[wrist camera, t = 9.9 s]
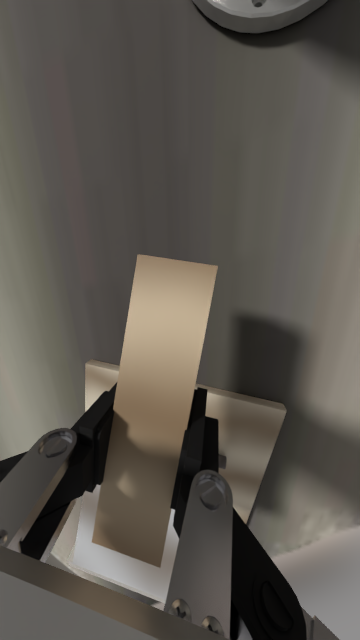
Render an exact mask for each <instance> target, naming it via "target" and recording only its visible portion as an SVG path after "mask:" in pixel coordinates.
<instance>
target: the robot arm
mask: <svg viewBox="0 0 360 640" xmlns="http://www.w3.org/2000/svg"><path fill="white" fill-rule="evenodd" d="M192 1H193V2H194V3H195V4H196V5H197V7H198V8H199V9H200V10H201V11H202V12H203V13H204V14H205V15H206V16H207V17H208V18H210V19H211V20H213V21H214V22H216V23H217V24H219V25H220V26H222V27H225V28H228V29H231V30H234V31H237V32H243V33H262V32H267V31H273V30H278V29H281V28H283V27H285V26H288V25H290V24H292V23H295V22H297V21H299V20H301V19H303V18H304V17H306V16H307V15H309V14H310V13H312V12H313V11H315V10H316V9H318V8H319V7H321V6H322V5H323V4H324V3H326V2H327V1H328V0H192ZM116 387H117V382H116V384H115V385H114V386H113V387H112V388H111V389H110V391H104V392H103V393H102V394H101V395H100V396H99V398H98V399H97V400H96V401H95V402H94V403H93V404H92V405H91V407H90V408H89V409H88V410H87V411H86V412H85V413H84V414H83V416H82V417H81V418H80V419H79V420H78V421H77V422H76V423H75V425H74V426H73V427H72V428H71V429H68V428H60V429H55V430H52V431H50V432H48V433H46V434H45V435H43V436H42V437H41V438H40V439H39V440H38V441H37V442H36V443H35V444H34V445H33V446H32V448H31V449H30V450H29V451H27V452H24V453H22V454H19V455H16V456H13V457H10V458H8V459H5V460H2V461H0V640H339V639H338V638H337V637H336V636H335V635H334V634H333V633H332V632H331V631H330V630H329V629H328V628H327V627H326V626H325V625H324V624H323V623H322V622H321V621H320V620H319V619H318V618H317V617H316V616H314V617H313V618H311V616H310V615H309V614H308V613H307V612H306V611H305V610H304V609H303V608H302V607H301V606H300V604H299V601H298V599H297V596H296V595H295V593H294V591H293V590H292V588H291V586H290V585H289V583H288V582H287V581H286V579H285V578H284V576H283V575H282V574H281V572H280V571H279V570H278V568H277V567H276V565H275V564H274V563H273V561H272V560H271V558H270V557H269V556H268V554H267V553H266V552H265V550H264V549H263V547H262V546H261V545H260V543H259V542H258V540H257V539H256V538H255V536H254V535H253V534H252V532H251V531H250V529H249V528H248V527H247V525H246V524H245V523H244V521H243V520H242V518H241V517H240V516H239V514H238V513H237V512H236V510H235V509H234V507H233V496H232V491H231V488H230V485H229V484H228V482H227V481H226V479H225V478H224V477H223V476H221V475H220V474H219V422H218V419H215V418H211V417H207V416H205V414H206V402H207V390H208V389H204V388H200V387H197V390H196V389H194V394H193V399H192V404H191V410H190V415H189V420H188V425H187V430H185V432H184V437H183V442H182V447H181V452H180V458H179V463H178V468H177V474H176V479H175V484H174V490H173V495H172V500H171V506H170V508H171V509H174V510H175V513H174V519H173V520H174V521H173V527H174V529H175V531H176V533H177V536H178V538H179V542H178V547H177V551H176V556H175V561H174V565H173V570H172V574H171V579H170V584H169V588H168V593H167V597H166V602H165V606H164V611H162V610H159V609H157V608H155V607H152V606H150V605H147V604H145V603H142V602H140V601H137V600H135V599H133V598H130V597H128V596H125V595H123V594H120V593H118V592H116V591H113V590H111V589H108V588H106V587H103V586H101V585H98V584H96V583H93V582H91V581H88V580H86V579H83V578H81V577H78V576H76V575H74V574H71V573H68V572H66V571H64V570H61V569H58V568H56V567H54V566H51V565H49V564H46V563H45V562H46V560H47V558H48V556H49V554H50V552H51V550H52V548H53V546H54V544H55V542H56V540H57V539H58V537H59V535H60V533H61V531H62V529H63V527H64V525H65V523H66V521H67V519H68V517H69V515H70V513H71V511H72V509H73V507H74V505H75V503H76V500H77V498H78V497H80V496H82V495H83V494H84V492H85V491H88V492H90V493H93V491H94V489H95V487H96V485H101V484H102V482H103V478H104V472H105V466H106V459H107V453H108V447H109V441H110V435H111V428H112V422H113V416H114V411H113V406H114V400H115V393H116Z"/></svg>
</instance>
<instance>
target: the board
mask: <svg viewBox="0 0 360 640" xmlns="http://www.w3.org/2000/svg"><path fill="white" fill-rule="evenodd" d="M119 369H120V366H118V365H114V364H109V363H105V362H101V361H96V360H92V359H91V360H90V361H88V362H87V363H86V378H85V412H86V411H87V410H88V409H89V408H90V407H91V405H92V404H93V403H94V402H95V401H96V400H97V399H98V398H99V396H100V395H101V394H102V393H103V392H104V391H110V389H111V388H112V387H113V386H114V385H115V384H116V382H117V381H118V375H119ZM197 387H200V388H204V389H208V390H207V402H206V414H205V416H207V417H211V418H215V419H218V422H219V474H220V475H221V476H223V477H224V478H225V479H226V481H227V482H228V484H229V485H230V488H231V491H232V496H233V507H234V509H235V510H236V512H237V513H238V514H239V516H240V517H241V518H242V520H243V521H244V523H245V524H246V523H247V520H248V517H249V515H250V512H251V509H252V506H253V503H254V501H255V498H256V495H257V492H258V490H259V487H260V484H261V481H262V478H263V476H264V473H265V470H266V467H267V465H268V462H269V459H270V456H271V454H272V451H273V448H274V445H275V442H276V440H277V437H278V434H279V431H280V429H281V426H282V423H283V420H284V417H285V415H286V412H287V411H286V409H285V406H284V404H282V403H277V402H273V401H269V400H265V399H260V398H256V397H252V396H247V395H243V394H239V393H234V392H230V391H226V390H221V389H217V388H213V387H208V386H204V385H200V384H196V383H195V389H196V390H197Z"/></svg>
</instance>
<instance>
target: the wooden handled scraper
mask: <svg viewBox="0 0 360 640" xmlns="http://www.w3.org/2000/svg"><path fill="white" fill-rule="evenodd" d="M217 268H218V266H214V265H207V264H200V263H193V262H187V261H180V260H173V259H166V258H160V257H153V256H146V255H139V254H138V256H137V263H136V269H135V275H134V281H133V288H132V294H131V300H130V306H129V313H128V319H127V325H126V331H125V337H124V344H123V350H122V356H121V362H120V369H119V375H118V381H117V387H116V393H115V400H114V406H113V411H114V416H113V422H112V428H111V435H110V441H109V447H108V453H107V459H106V466H105V472H104V478H103V482H102V484H101V485H96V487H95V489H94V491H93V493H90V492H88V491H85V492H84V494H83V499H82V506H81V512H80V519H79V525H78V532H77V538H76V545H75V551H74V557H73V564H75V565H77V566H80V567H82V568H85V569H87V570H90V571H92V572H95V573H97V574H100V575H103V576H105V577H108V578H110V579H113V580H115V581H118V582H120V583H123V584H125V585H128V586H130V587H133V588H136V589H138V590H141V591H143V592H146V593H148V594H151V595H153V596H156V597H158V598H161V599H163V600H166V597H167V593H168V588H169V584H170V579H171V574H172V570H173V565H174V561H175V556H176V551H177V547H178V542H179V538H178V536H177V533H176V531H175V529H174V527H173V521H174V520H173V519H174V513H175V510H174V509H171V508H170V506H171V500H172V495H173V490H174V484H175V479H176V474H177V468H178V463H179V458H180V452H181V447H182V442H183V437H184V432H185V430H187V425H188V420H189V415H190V410H191V404H192V399H193V394H194V389H195V383H196V378H197V373H198V368H199V362H200V357H201V352H202V347H203V341H204V336H205V331H206V326H207V320H208V315H209V310H210V305H211V299H212V294H213V289H214V284H215V278H216V273H217Z"/></svg>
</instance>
